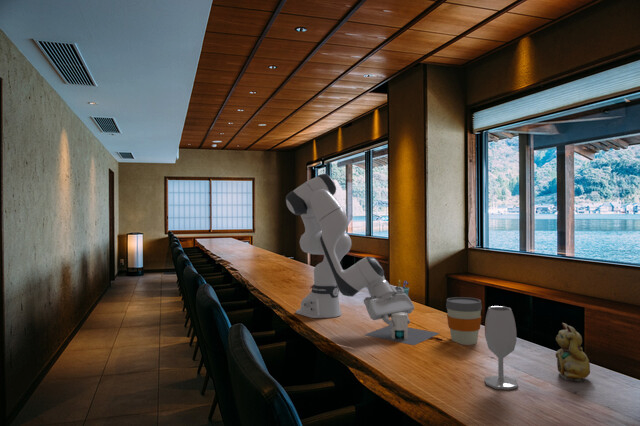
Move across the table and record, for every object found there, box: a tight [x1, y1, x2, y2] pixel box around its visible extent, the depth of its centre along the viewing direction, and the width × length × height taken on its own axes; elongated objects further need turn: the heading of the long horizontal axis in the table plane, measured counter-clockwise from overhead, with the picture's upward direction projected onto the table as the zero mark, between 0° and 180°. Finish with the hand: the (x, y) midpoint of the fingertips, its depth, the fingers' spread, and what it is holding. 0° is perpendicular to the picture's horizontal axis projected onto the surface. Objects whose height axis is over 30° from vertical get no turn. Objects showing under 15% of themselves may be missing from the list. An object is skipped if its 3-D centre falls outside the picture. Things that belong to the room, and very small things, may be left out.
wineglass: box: [484, 305, 519, 391], centre depth 125 cm, size 9×9×21 cm
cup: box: [398, 279, 410, 297], centre depth 218 cm, size 14×8×15 cm, turn 13°
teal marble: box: [396, 330, 404, 338], centre depth 171 cm, size 3×3×3 cm
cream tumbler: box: [390, 312, 409, 340], centre depth 171 cm, size 6×6×9 cm
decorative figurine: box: [555, 322, 591, 382], centre depth 129 cm, size 10×8×15 cm
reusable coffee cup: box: [445, 296, 483, 346], centre depth 166 cm, size 13×13×15 cm
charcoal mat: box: [364, 325, 441, 346], centre depth 176 cm, size 22×20×1 cm
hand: (400, 324), depth 170 cm, fingers closed on cream tumbler, 6 cm apart
